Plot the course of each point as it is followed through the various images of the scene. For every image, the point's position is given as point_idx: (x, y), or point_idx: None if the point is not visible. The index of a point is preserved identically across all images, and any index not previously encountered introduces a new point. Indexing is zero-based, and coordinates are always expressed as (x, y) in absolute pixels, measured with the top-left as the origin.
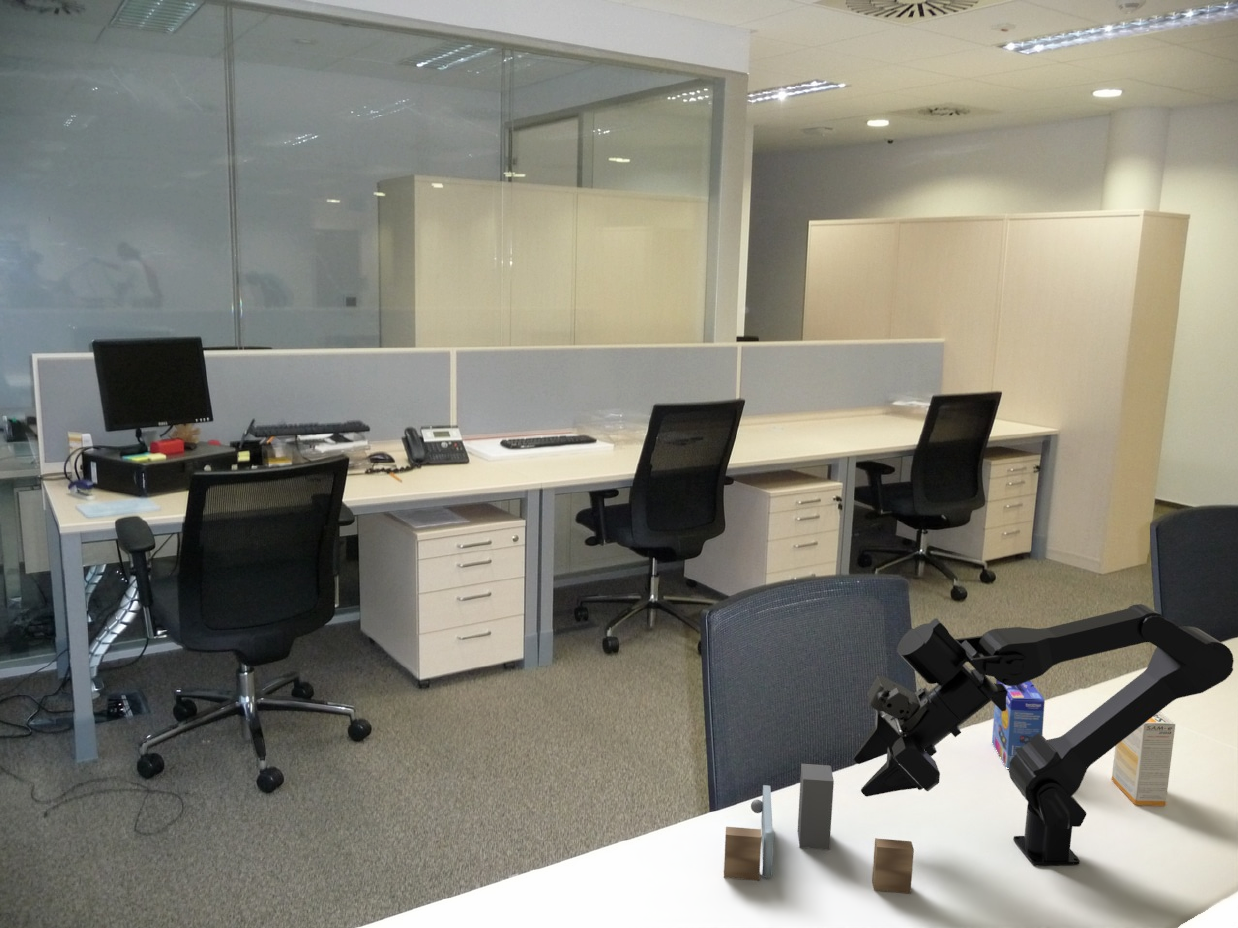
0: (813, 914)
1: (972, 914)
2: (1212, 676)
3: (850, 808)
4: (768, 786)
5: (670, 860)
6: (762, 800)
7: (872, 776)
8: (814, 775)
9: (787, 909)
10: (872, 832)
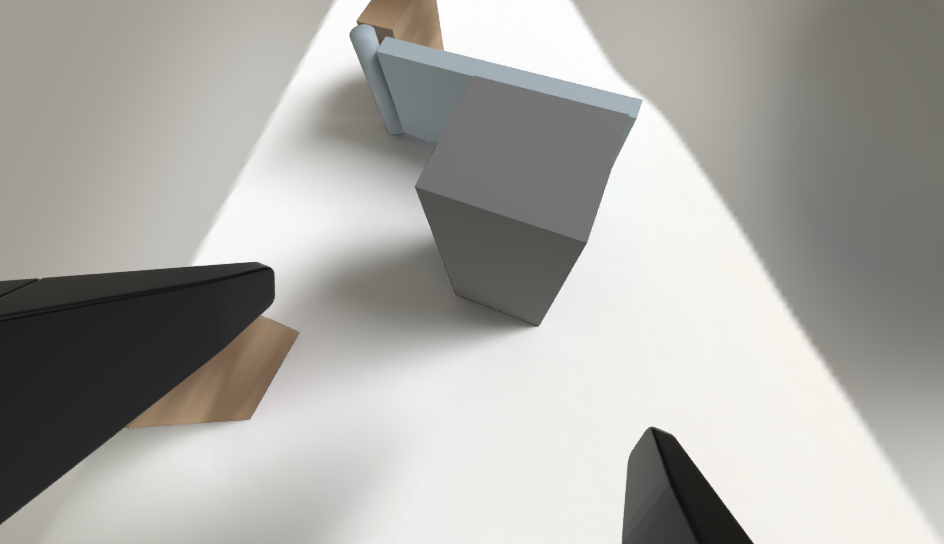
0: (257, 166)
1: (69, 521)
2: None
3: None
4: (631, 112)
5: (498, 6)
6: None
7: (152, 292)
8: (496, 128)
9: (291, 130)
10: (511, 467)
